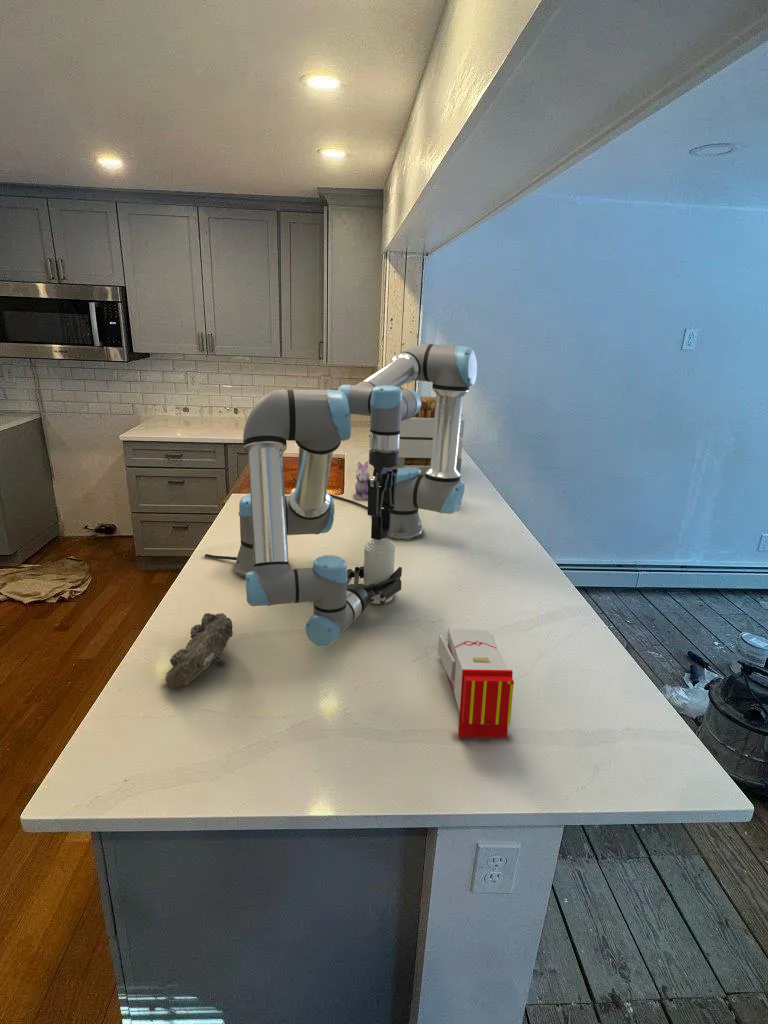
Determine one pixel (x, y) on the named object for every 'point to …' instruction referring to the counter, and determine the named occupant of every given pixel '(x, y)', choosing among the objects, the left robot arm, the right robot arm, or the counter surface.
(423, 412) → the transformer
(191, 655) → the fossil
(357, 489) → the figurine
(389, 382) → the right robot arm
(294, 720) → the counter surface
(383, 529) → the cap
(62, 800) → the counter surface
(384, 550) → the bottle
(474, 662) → the toy
